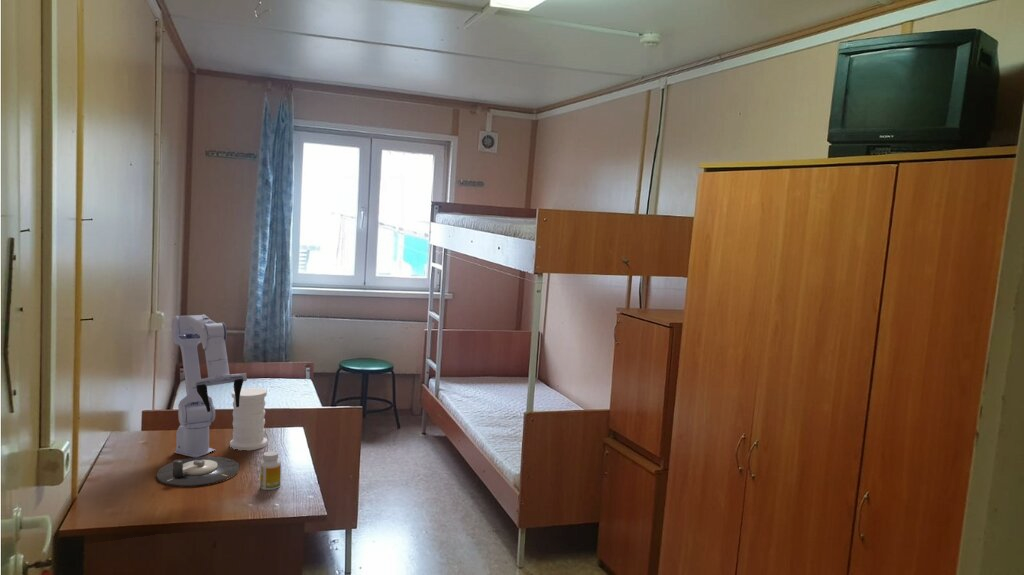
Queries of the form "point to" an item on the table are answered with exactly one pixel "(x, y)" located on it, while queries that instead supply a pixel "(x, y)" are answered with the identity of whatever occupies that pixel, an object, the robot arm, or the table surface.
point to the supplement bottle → (270, 471)
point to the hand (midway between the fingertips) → (223, 408)
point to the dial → (193, 467)
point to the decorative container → (249, 420)
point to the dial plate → (222, 472)
